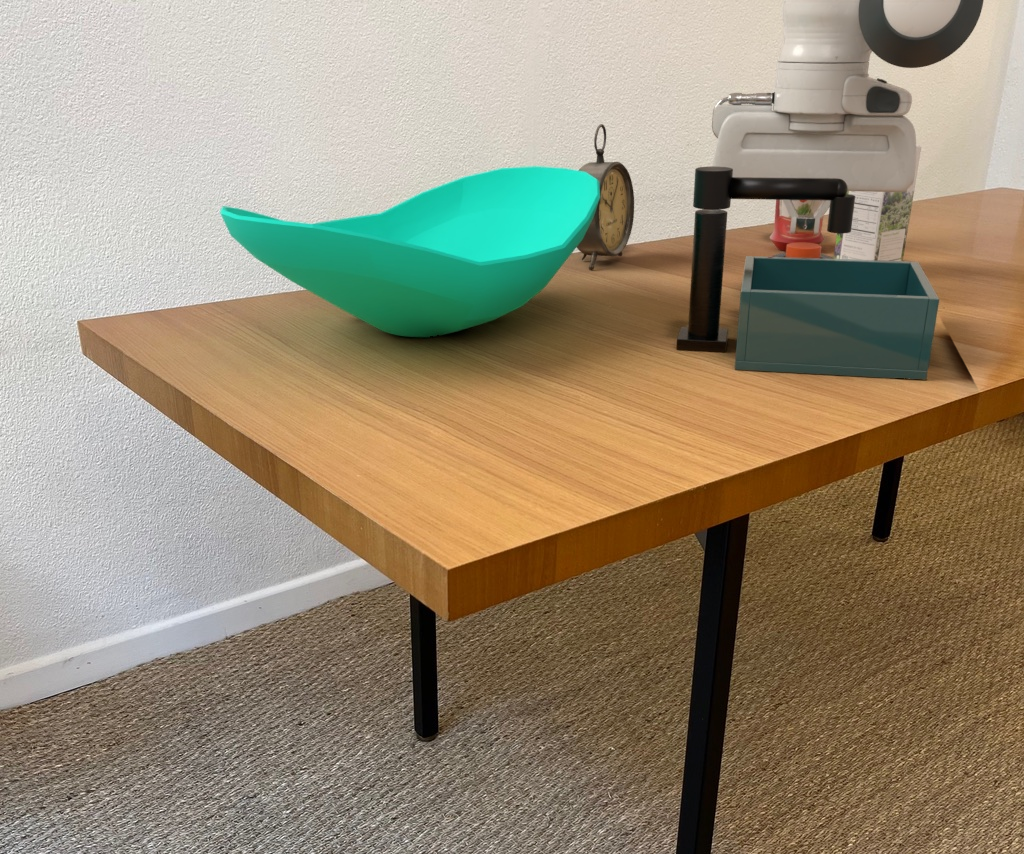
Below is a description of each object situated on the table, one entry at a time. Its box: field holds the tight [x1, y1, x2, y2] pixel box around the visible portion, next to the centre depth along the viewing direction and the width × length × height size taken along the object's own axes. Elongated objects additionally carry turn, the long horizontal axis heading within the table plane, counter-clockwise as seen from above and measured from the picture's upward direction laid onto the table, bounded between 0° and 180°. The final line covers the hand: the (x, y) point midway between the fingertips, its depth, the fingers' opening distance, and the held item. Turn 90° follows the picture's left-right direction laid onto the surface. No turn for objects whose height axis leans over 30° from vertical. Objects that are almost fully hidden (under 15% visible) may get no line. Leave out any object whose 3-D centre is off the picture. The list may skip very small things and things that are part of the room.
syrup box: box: [833, 144, 922, 261], centre depth 120 cm, size 6×6×14 cm
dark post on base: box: [676, 209, 729, 353], centre depth 95 cm, size 4×4×12 cm
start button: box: [785, 242, 822, 258], centre depth 112 cm, size 4×4×2 cm
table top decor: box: [220, 165, 600, 338], centre depth 101 cm, size 40×28×13 cm
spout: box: [692, 165, 855, 234], centre depth 91 cm, size 14×3×5 cm, turn 80°
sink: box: [734, 255, 940, 380], centre depth 93 cm, size 16×15×7 cm
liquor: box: [769, 200, 825, 252], centre depth 131 cm, size 7×7×28 cm
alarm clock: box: [576, 123, 635, 271], centre depth 127 cm, size 11×5×16 cm, turn 151°
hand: (803, 233), depth 111 cm, fingers closed
